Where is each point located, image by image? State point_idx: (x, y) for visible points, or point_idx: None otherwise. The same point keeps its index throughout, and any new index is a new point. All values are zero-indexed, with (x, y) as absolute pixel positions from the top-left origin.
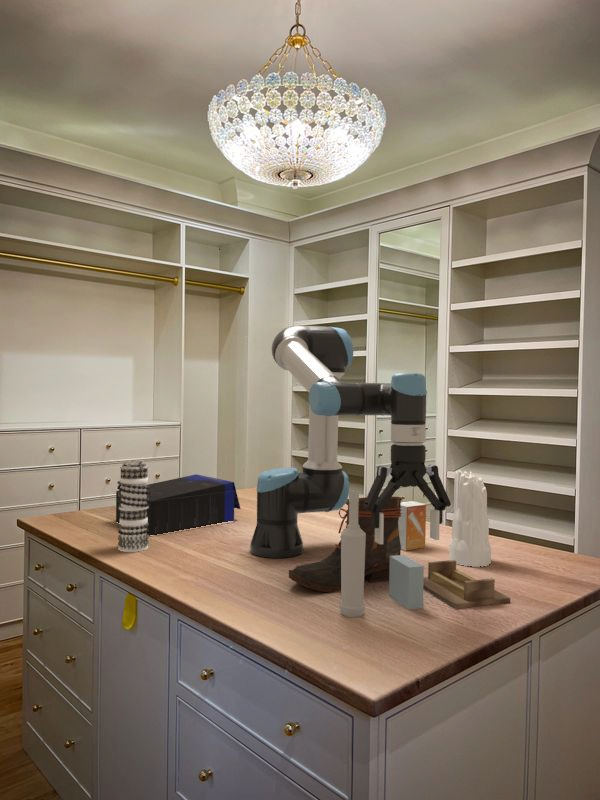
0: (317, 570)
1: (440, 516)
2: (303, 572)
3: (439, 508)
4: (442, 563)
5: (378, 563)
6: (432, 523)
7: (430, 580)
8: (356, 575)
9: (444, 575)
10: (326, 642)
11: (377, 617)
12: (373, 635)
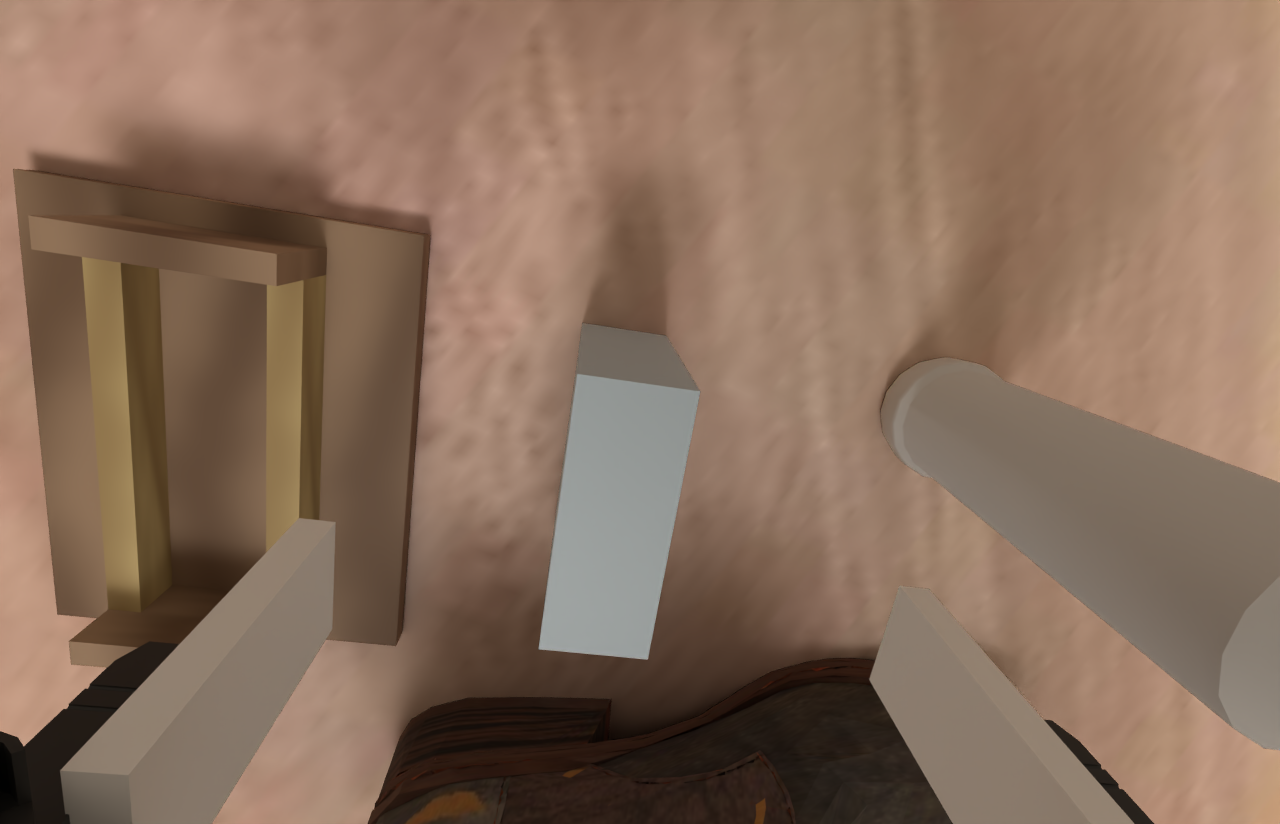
0: None
1: (95, 718)
2: None
3: (24, 811)
4: None
5: (555, 778)
6: (258, 698)
7: None
8: (1098, 418)
9: (213, 598)
10: (1250, 165)
11: (867, 314)
12: (1030, 132)
